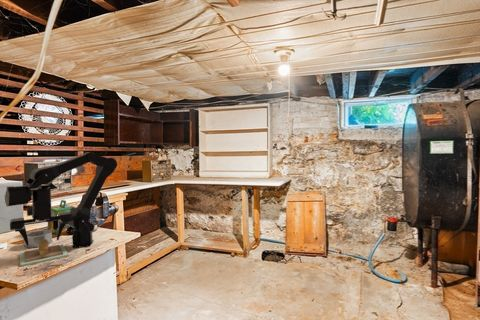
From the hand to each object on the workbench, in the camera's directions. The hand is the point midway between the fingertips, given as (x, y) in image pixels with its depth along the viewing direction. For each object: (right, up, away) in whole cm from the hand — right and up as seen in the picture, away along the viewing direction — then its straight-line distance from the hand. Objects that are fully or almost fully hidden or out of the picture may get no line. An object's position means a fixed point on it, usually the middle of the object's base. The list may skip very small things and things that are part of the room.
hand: (43, 242), depth 103 cm
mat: (0, -5, 0) cm, 5 cm away
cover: (0, -4, 0) cm, 4 cm away
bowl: (-11, -4, +12) cm, 17 cm away
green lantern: (-13, -4, +31) cm, 34 cm away
